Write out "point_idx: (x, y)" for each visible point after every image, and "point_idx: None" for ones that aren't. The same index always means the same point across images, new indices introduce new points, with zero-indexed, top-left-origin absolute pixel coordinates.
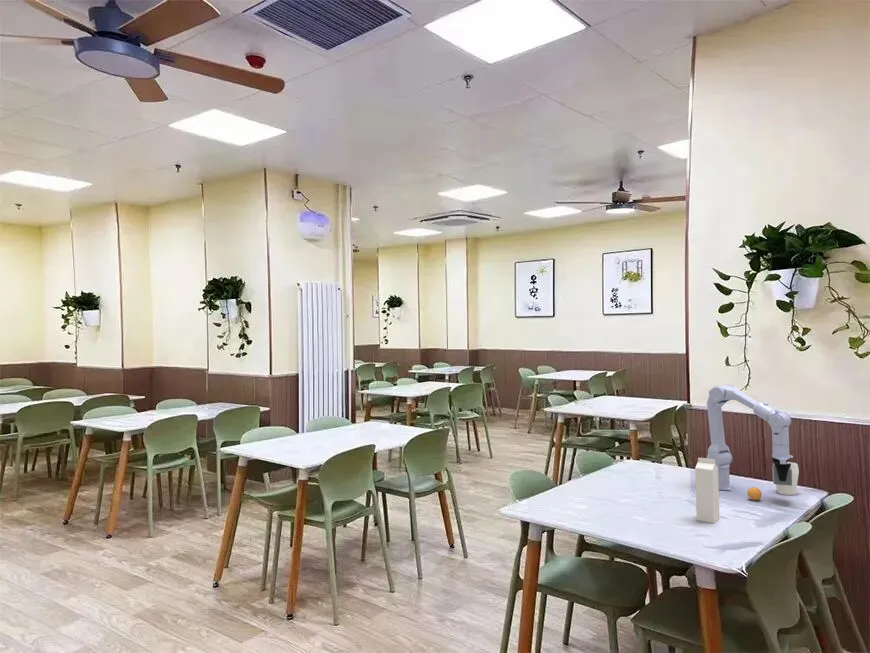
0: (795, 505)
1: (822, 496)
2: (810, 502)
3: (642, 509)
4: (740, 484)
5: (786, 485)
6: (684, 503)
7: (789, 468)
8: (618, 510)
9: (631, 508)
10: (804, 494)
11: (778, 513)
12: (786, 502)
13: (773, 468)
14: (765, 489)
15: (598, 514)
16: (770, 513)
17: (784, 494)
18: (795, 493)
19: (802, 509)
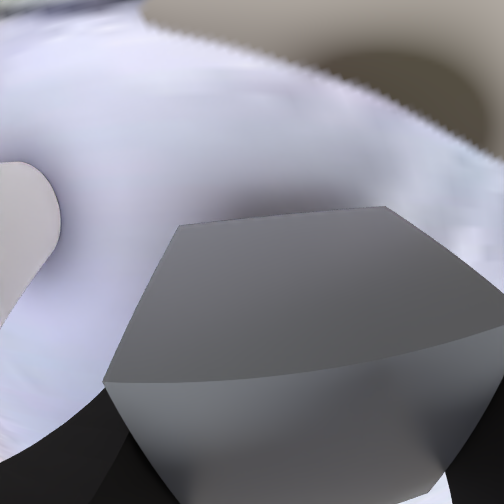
0: (321, 149)
1: (14, 23)
2: (186, 50)
3: (438, 488)
4: (26, 395)
5: (31, 232)
6: None
7: (406, 378)
8: (441, 497)
9: (431, 497)
10: (5, 115)
11: (491, 249)
12: (261, 204)
13: (391, 500)
14: (22, 315)
15: None
16: (492, 280)
17: (59, 223)
18: (22, 162)
19: (402, 117)
